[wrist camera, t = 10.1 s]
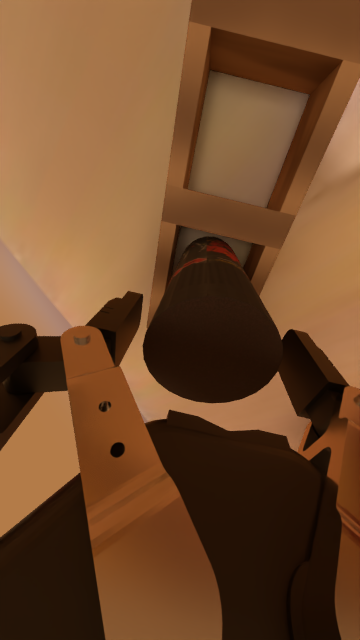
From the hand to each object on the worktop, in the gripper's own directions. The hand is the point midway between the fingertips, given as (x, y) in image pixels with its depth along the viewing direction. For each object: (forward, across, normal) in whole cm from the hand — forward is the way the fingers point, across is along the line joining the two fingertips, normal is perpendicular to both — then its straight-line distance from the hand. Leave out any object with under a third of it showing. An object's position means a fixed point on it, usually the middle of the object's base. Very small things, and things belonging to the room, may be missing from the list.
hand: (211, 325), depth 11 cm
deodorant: (+12, 0, 0) cm, 13 cm away
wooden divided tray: (+12, 0, -5) cm, 13 cm away
